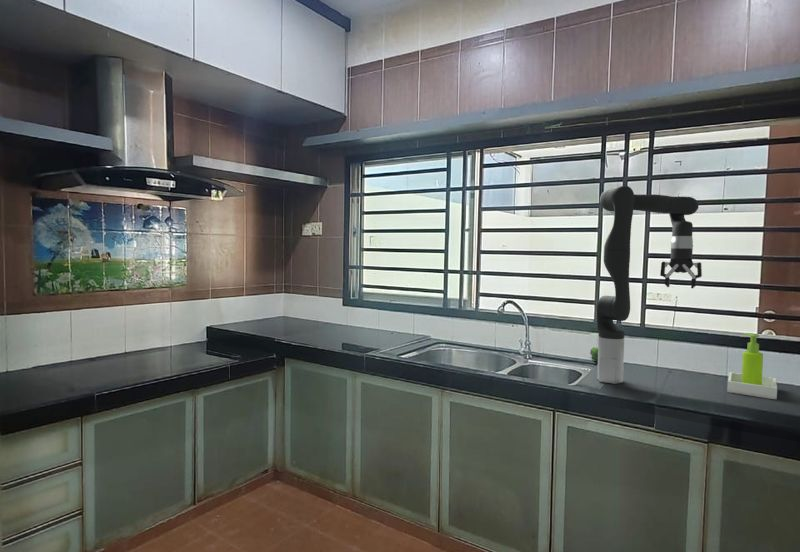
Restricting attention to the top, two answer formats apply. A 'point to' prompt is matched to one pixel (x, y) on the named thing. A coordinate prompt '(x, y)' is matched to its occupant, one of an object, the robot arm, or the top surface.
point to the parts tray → (752, 386)
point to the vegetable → (594, 353)
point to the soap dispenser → (752, 362)
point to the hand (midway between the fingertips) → (680, 287)
